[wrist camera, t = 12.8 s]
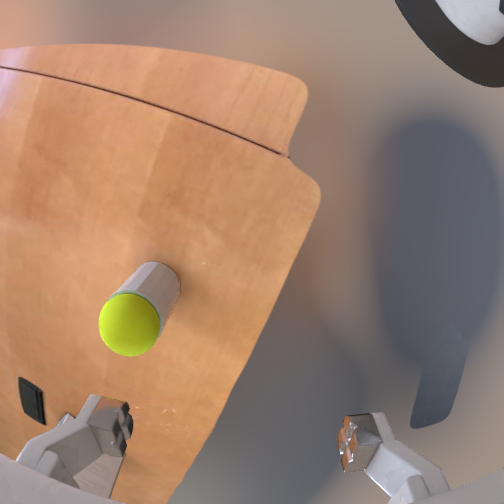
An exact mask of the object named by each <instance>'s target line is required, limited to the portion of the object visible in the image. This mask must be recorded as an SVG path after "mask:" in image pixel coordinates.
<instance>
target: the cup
mask: <svg viewBox="0 0 504 504" xmlns="http://www.w3.org/2000/svg"><path fill="white" fill-rule="evenodd" d="M180 292H181V286H180V281H179V279H178V277H177V275H176V274H175V272H174V271H173V270H172V269H171V268H170V267H168V266H167V265H165V264H162V263H159V262H147V263H144V264H142V265H141V266H139V267H138V268H137V269H136V270H135V272H134V273H133V274H132V275H131V276H130V277H129V278H128V279H127V280H126V281H125V282H124V283H123V284H122V285H121V286H120V287H119V288H118V289H117V291H116V292H115V293H114V294H113V295H112V296H111V297H110V298H109V299H108V301H109V300H110V299H112V298H113V297H115V296H117V295H121V294H135V295H138V296H141V297H143V298H144V299H146V300H147V301H148V302H149V303H150V304H151V305H152V306H153V307H154V309H155V310H156V312H157V315H158V318H159V323H160V329H159V335H158V337H160V335H161V333H162V331H163V329H164V327H165V325H166V323H167V321H168V319H169V317H170V315H171V313H172V311H173V309H174V307H175V305H176V303H177V300H178V298H179V296H180ZM108 301H107V302H108Z"/></svg>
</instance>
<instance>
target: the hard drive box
mask: <svg viewBox="0 0 504 504" xmlns="http://www.w3.org/2000/svg"><path fill="white" fill-rule="evenodd" d="M69 420H75V418H74V417H72V416H71V415H70V414H66V415H65V416H64V417H63V418H62V419H61V420H60V421H59V423H58V424H57V426H59V425H61V424H64V423H65V422H67V421H69ZM57 426H56V427H57ZM124 457H125V453H124V455H123V458H119V457H114V456H110V455H106V454H103V455H102V456H100V457H99V458H98V459H96V460H95V461H94V462H92V463H91V464H90V465H88V466H87V467H86V468H84V469H83V470H82V471H80V472H79V473H77V474H76V475H75V476H73V478H74V480H75V481H76V483H77V484H78V485H79V487H80V489H81V490H84V491H87V492H90V493H93V494H96V495H99V496H102V497H105V498H109V499H110V497H111V494H112V491H113V488H114V485H115V482H116V479H117V476H118V474H119V471H120V468H121V465H122V462H123V459H124Z"/></svg>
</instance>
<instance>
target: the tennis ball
mask: <svg viewBox="0 0 504 504" xmlns="http://www.w3.org/2000/svg"><path fill="white" fill-rule="evenodd" d="M159 329H160V323H159V318H158V315H157V312H156V310H155V309H154V307H153V306H152V305H151V304H150V303H149V302H148V301H147V300H146V299H144V298H143V297H141V296H138V295H135V294H121V295H117V296H115V297H113V298H112V299H110V300H109V301H108V302H107V303H106V304H105V305H104V307H103V308H102V310H101V313H100V316H99V331H100V334H101V337H102V339H103V341H104V342H105V343H106V345H107V346H108V347H109V348H110V349H111V350H113V351H114V352H116V353H118V354H121V355H124V356H137V355H140V354H143V353H145V352H146V351H148V350H149V349H150V348H151V347H152V346H153V345H154V343H155V342H156V340H157V338H158V335H159Z"/></svg>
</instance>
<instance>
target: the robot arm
mask: <svg viewBox="0 0 504 504" xmlns="http://www.w3.org/2000/svg"><path fill="white" fill-rule="evenodd" d="M435 1H436V2H437V4H438V5H439V7H440V8H441V9H442V11H443V12H444V14H445V15H446V16H447V17H448V19H449V20H450V21H451V22H452V23H453V24H454V25H455V26H456V27H457V28H458V29H459V30H460V31H462V32H463V33H464V34H465V35H467V36H468V37H470V38H471V39H473V40H475V41H477V42H479V43H481V44H485V45H493V44H496V43H498V42H499V41H500V40H501V39H502V38H503V37H504V0H435ZM129 409H130V408H129V405H128V403H127V402H124V401H120V400H116V399H112V398H108V397H104V396H99V395H95V394H91V395H90V396H89V397H88V398H87V400H86V402H85V403H84V405H83V407H82V408H81V410H80V412H79V414H78V415H77V417H76V419H75V420H69V421H67V422H65V423H64V424H61V425H59V426H57V427H55V428H53V429H51V430H49V431H47V432H45V433H43V434H41V435H39V436H37V437H35V438H33V439H31V440H28V442H27V443H26V445H25V447H24V448H23V450H22V451H21V453H20V455H19V456H18V458H17V459H16V461H14V460H12V459H11V458H9V457H7V456H5V455H3V454H1V453H0V504H127V503H123V502H119V501H116V500H112V499H109V498H105V497H102V496H99V495H96V494H93V493H90V492H87V491H84V490H81V489H80V487H79V485H78V484H77V483H76V481H75V480H74V478H73V476H75V475H76V474H77V473H79V472H80V471H82V470H83V469H84V468H86V467H87V466H88V465H90V464H91V463H92V462H94V461H95V460H96V459H98V458H99V457H100V456H102V455H103V454H106V455H110V456H114V457H119V458H123V455H124V453H125V450H126V448H127V444H126V442H125V441H126V440H128V439H129V438H130V437H131V434H132V431H133V419H132V416H131V415H130V414H129V413H128V411H129ZM343 425H344V427H342V428H341V429H340V430H339V433H338V440H337V442H338V449H339V452H341V453H342V454H343V457H342V459H341V462H342V466H343V470H344V472H345V473H346V472H356V471H365V472H366V473H367V474H368V475H369V476H370V477H371V478H372V479H373V480H374V481H375V482H376V483H377V484H378V485H379V486H380V487H381V488H382V489H383V490H384V491H386V493H387V494H388V495H390V496H391V497H392V498H391V499H390V501H389V502H388V503H387V504H504V468H502V469H500V470H498V471H496V472H493V473H491V474H489V475H487V476H485V477H482V478H480V479H478V480H475V481H473V482H471V483H468V484H465V485H463V486H460V487H458V488H455V489H452V490H451V489H450V487H449V485H448V483H447V480H446V478H445V476H444V474H443V472H442V469H441V468H440V467H439V466H437V465H436V464H434V463H432V462H431V461H429V460H428V459H426V458H425V457H423V456H422V455H420V454H419V453H417V452H416V451H414V450H413V449H411V448H410V447H408V446H407V445H405V444H404V443H402V442H401V441H396V439H395V437H394V435H393V432H392V430H391V428H390V426H389V423H388V421H387V418H386V416H385V414H384V413H383V412H377V413H367V414H357V415H346V416H345V417H344V420H343Z"/></svg>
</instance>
